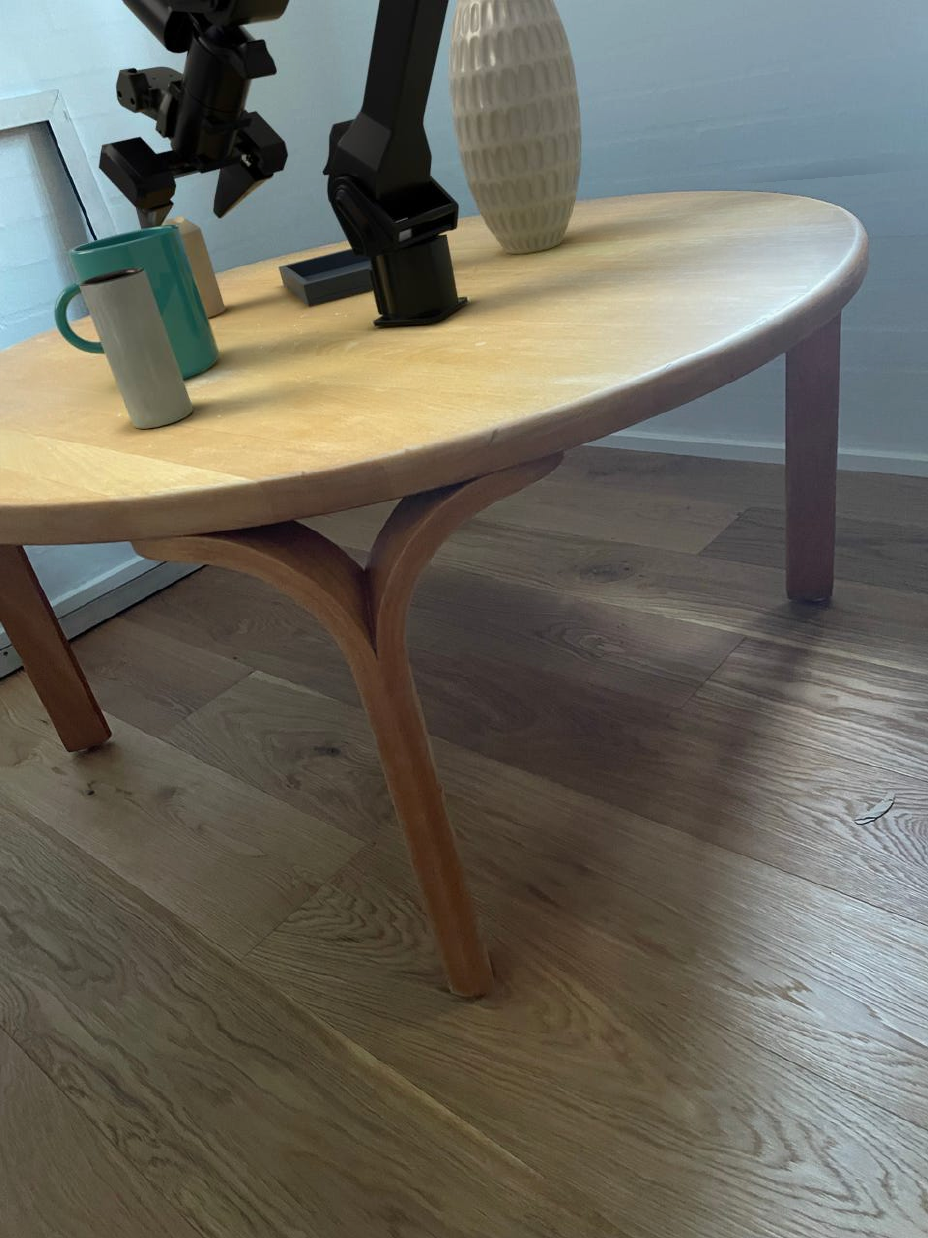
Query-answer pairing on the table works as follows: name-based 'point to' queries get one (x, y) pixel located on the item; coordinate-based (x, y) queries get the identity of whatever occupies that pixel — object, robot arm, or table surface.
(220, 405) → the table surface
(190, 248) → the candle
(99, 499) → the table surface
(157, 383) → the planter
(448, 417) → the table surface
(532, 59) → the vase
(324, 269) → the tray
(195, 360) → the cup
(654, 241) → the table surface
